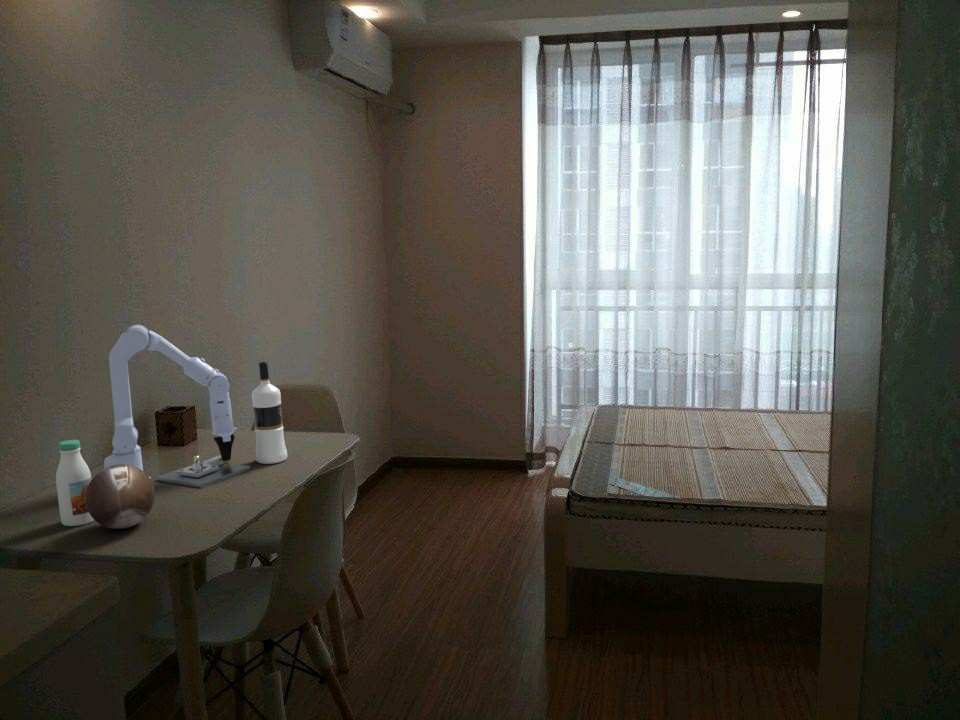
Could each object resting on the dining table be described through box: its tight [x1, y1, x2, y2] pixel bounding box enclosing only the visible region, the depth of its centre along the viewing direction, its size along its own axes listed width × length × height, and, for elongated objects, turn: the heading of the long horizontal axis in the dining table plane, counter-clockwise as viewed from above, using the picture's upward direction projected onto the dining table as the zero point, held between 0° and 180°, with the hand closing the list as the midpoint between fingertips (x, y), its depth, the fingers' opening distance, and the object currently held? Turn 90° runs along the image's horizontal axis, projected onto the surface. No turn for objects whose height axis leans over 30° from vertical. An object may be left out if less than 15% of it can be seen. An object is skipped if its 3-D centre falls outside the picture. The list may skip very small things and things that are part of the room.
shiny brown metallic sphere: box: [85, 464, 156, 530], centre depth 192 cm, size 15×15×15 cm
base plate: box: [155, 455, 251, 489], centre depth 233 cm, size 18×18×4 cm
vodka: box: [251, 361, 289, 465], centre depth 242 cm, size 9×9×30 cm
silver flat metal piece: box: [177, 454, 230, 477], centre depth 234 cm, size 15×8×2 cm, turn 153°
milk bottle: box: [55, 439, 95, 527], centre depth 197 cm, size 8×8×20 cm
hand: (226, 460), depth 238 cm, fingers closed
